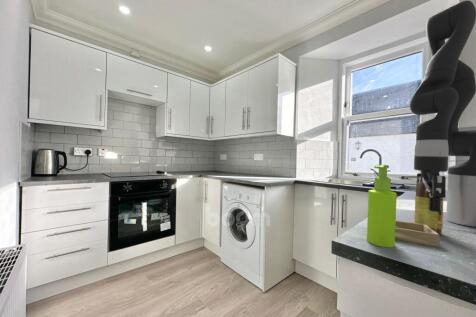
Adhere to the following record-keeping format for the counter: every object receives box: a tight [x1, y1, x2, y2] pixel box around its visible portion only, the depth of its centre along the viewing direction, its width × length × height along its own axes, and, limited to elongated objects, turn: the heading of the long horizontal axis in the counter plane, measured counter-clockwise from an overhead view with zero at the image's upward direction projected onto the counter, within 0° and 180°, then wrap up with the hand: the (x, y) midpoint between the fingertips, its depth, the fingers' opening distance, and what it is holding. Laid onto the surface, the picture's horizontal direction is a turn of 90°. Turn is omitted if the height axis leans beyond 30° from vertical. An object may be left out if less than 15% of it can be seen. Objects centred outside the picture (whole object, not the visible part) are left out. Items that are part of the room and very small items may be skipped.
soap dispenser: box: [366, 164, 398, 248], centre depth 51 cm, size 6×7×20 cm
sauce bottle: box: [414, 171, 444, 235], centre depth 62 cm, size 7×6×20 cm
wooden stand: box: [395, 220, 440, 248], centre depth 57 cm, size 9×10×3 cm
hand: (428, 208), depth 62 cm, fingers open, 8 cm apart
